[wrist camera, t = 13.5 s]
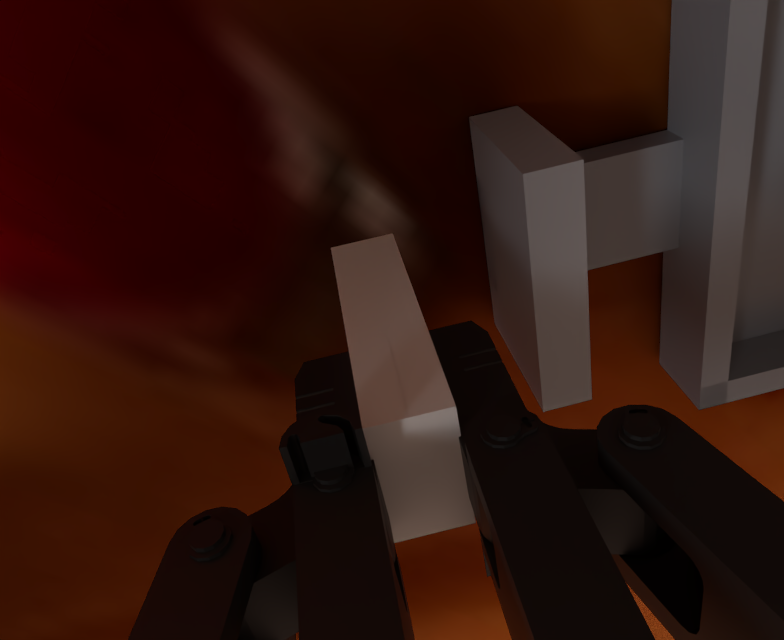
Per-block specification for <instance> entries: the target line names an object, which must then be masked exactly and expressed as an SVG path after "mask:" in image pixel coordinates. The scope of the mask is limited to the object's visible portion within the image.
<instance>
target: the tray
mask: <svg viewBox="0 0 784 640" xmlns="http://www.w3.org/2000/svg"><path fill="white" fill-rule="evenodd" d="M469 123H470V131H471V139H472V147H473V155H474V163H475V171H476V179H477V187H478V195H479V203H480V211H481V219H482V227H483V235H484V243H485V251H486V259H487V267H488V275H489V283H490V291H491V298H492V306H493V314H494V322H495V325H496V327H497V329H498V331H499V332H500V334H501V336H502V338H503V340H504V341H505V343H506V345H507V347H508V349H509V351H510V352H511V354H512V356H513V358H514V360H515V361H516V363H517V365H518V367H519V369H520V371H521V372H522V374H523V376H524V378H525V380H526V381H527V383H528V385H529V387H530V389H531V391H532V392H533V394H534V396H535V398H536V400H537V401H538V403H539V405H540V407H541V409H542V411H543V412H545V411H549V410H553V409H557V408H561V407H565V406H568V405H572V404H576V403H580V402H584V401H588V400H592V385H591V356H590V327H589V298H588V270H591V269H595V268H599V267H603V266H607V265H611V264H615V263H619V262H623V261H627V260H631V259H635V258H639V257H643V256H647V255H652V254H656V253H660V252H663V272H662V302H661V331H660V360H659V364H660V365H661V366H662V367H663V368H664V370H665V371H666V372H667V373H668V374H669V375H670V377H671V378H672V379H673V380H674V381H675V382H676V384H677V385H678V386H679V387H680V388H681V390H682V391H683V392H684V393H685V394H686V395H687V397H688V398H689V399H690V400H691V401H692V402H693V404H694V405H695V406H696V407H697V408H698V409H699V410H701V409H705V408H709V407H712V406H716V405H720V404H724V403H728V402H732V401H736V400H740V399H743V398H747V397H751V396H755V395H759V394H763V393H767V392H771V391H774V390H778V389H782V388H784V0H672V9H671V38H670V68H669V97H668V126H667V130H665V131H660V132H656V133H652V134H648V135H644V136H640V137H636V138H631V139H627V140H623V141H619V142H615V143H611V144H607V145H602V146H598V147H594V148H590V149H586V150H582V151H578V152H574V151H573V150H572V149H570V148H569V147H568V146H567V145H565V144H564V143H563V142H562V141H560V140H559V139H558V138H557V137H556V136H554V135H553V134H552V133H551V132H549V131H548V130H547V129H546V128H544V127H543V126H542V125H541V124H539V123H538V122H537V121H536V120H535V119H533V118H532V117H531V116H530V115H528V114H527V113H526V112H525V111H523V110H522V109H521V108H520V107H519V106H513V107H509V108H505V109H501V110H497V111H492V112H488V113H484V114H480V115H476V116H471V117H469Z"/></svg>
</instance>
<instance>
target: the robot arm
mask: <svg viewBox="0 0 784 640" xmlns="http://www.w3.org/2000/svg"><path fill="white" fill-rule="evenodd" d="M331 252H332V257H333V263H334V269H335V275H336V280H337V286H338V292H339V298H340V303H341V309H342V315H343V321H344V326H345V332H346V338H347V344H348V349H349V352H345V353H341V354H336V355H332V356H328V357H324V358H320V359H315V360H311V361H307V362H304V363H303V365H302V367H301V369H300V371H299V372H298V374H297V376H296V378H295V395H296V411H297V414H296V415H297V421H296V422H295V423H294V424H292V425H291V426H290V427H289V428H288V429H287V431H286V432H285V433H284V434H283V436H282V438H281V442H280V446H279V450H280V453H281V456H282V458H283V461H284V464H285V466H286V469H287V472H288V475H289V477H290V480H291V483H292V485H291V487H290V488H289V489H288V491H287V492H286V493H285V494H284V495H282V496H281V497H280V498H279V499H278V500H276V501H275V502H273V503H272V504H270V505H268V506H267V507H265V508H263V509H261V510H259V511H257V512H255V513H253V514H251V515H250V516H247V515H246V514H245V513H243V512H241V511H240V510H238V509H236V508H228V507H219V508H214V509H210V510H206V511H204V512H202V513H200V514H198V515H196V516H194V517H192V518H190V519H189V520H188V521H187V522H186V523H185V524H184V525H182V526H181V527H180V528H179V529H178V530H177V532H176V533H175V535H174V536H173V538H172V539H171V541H170V543H169V545H168V547H167V549H166V552H165V554H164V557H163V559H162V561H161V564H160V566H159V568H158V571H157V573H156V575H155V578H154V580H153V582H152V585H151V587H150V589H149V592H148V594H147V596H146V599H145V601H144V603H143V606H142V608H141V611H140V613H139V615H138V618H137V620H136V622H135V625H134V627H133V629H132V632H131V634H130V636H129V639H128V640H296V633H297V632H299V640H415V638H414V633H413V628H412V623H411V618H410V613H409V608H408V603H407V598H406V593H405V588H404V583H403V578H402V573H401V568H400V565H399V561H398V557H397V554H396V550H395V545H394V543H397V542H401V541H405V540H409V539H413V538H417V537H421V536H425V535H429V534H433V533H437V532H441V531H445V530H449V529H453V528H457V527H461V526H465V525H469V524H473V523H476V521H475V517H476V520H477V523H478V526H479V530H480V536H481V542H482V548H483V554H484V560H485V566H486V572H487V576H492V579H493V582H494V585H495V589H496V592H497V595H498V598H499V601H500V604H501V607H502V610H503V613H504V616H505V619H506V623H507V626H508V629H509V632H510V635H511V638H512V640H655V638H654V636H653V634H652V633H651V631H650V629H649V627H648V625H647V623H646V621H645V619H644V617H643V615H642V613H641V611H640V609H639V607H638V605H637V603H636V602H635V600H634V598H633V596H632V594H631V592H630V590H629V588H628V586H627V584H628V585H629V586H630V587H631V589H632V590H633V591H634V592H635V593H636V594H637V596H638V597H639V598H640V599H641V600H642V601H643V603H644V604H645V605H646V606H647V607H648V608H649V609H650V611H651V612H652V613H653V614H654V615H655V616H656V618H657V619H658V620H659V621H660V622H661V623H662V625H663V626H664V627H665V628H666V629H667V630H668V632H669V633H670V634H671V635H672V636H673V637H674V639H675V640H784V502H783V501H782V500H781V499H780V498H778V497H777V496H776V495H775V494H773V493H772V492H771V491H770V490H768V489H767V488H766V487H764V486H763V485H762V484H761V483H759V482H758V481H757V480H756V479H754V478H753V477H752V476H751V475H749V474H748V473H747V472H746V471H744V470H743V469H742V468H741V467H739V466H738V465H737V464H735V463H734V462H733V461H732V460H730V459H729V458H728V457H727V456H725V455H724V454H723V453H722V452H720V451H719V450H718V449H717V448H715V447H714V446H713V445H711V444H710V443H709V442H708V441H706V440H705V439H704V438H703V437H701V436H700V435H699V434H698V433H696V432H695V431H694V430H693V429H691V428H690V427H689V426H687V425H686V424H685V423H684V422H682V421H681V420H680V419H679V418H677V417H676V416H674V415H672V414H671V413H669V412H667V411H665V410H664V409H661V408H657V407H653V406H649V405H627V406H623V407H620V408H616V409H613V410H612V411H610V412H609V413H608V414H606V415H605V416H603V417H602V419H601V421H600V423H599V424H598V426H597V429H562V428H557V427H553V426H549V425H547V424H545V423H543V422H542V421H541V420H540V419H539V418H538V417H537V416H536V415H535V414H533V413H531V412H529V411H528V410H527V409H526V407H525V405H524V403H523V401H522V399H521V397H520V395H519V394H518V392H517V390H516V388H515V386H514V384H513V382H512V380H511V378H510V376H509V374H508V372H507V370H506V368H505V366H504V364H503V363H502V360H501V358H500V356H499V354H498V352H497V350H496V349H495V346H494V344H493V342H492V340H491V338H490V336H489V334H488V332H487V331H486V330H484V329H483V328H481V327H480V326H478V325H477V324H475V323H474V322H472V321H468V322H463V323H459V324H455V325H451V326H447V327H442V328H438V329H434V330H430V331H428V328H427V326H426V323H425V320H424V318H423V315H422V312H421V309H420V307H419V304H418V301H417V298H416V296H415V293H414V290H413V288H412V285H411V282H410V279H409V277H408V274H407V271H406V268H405V266H404V263H403V260H402V257H401V255H400V252H399V249H398V247H397V244H396V241H395V238H394V236H393V233H392V234H387V235H383V236H379V237H375V238H370V239H366V240H362V241H357V242H353V243H349V244H345V245H340V246H336V247H332V248H331ZM474 514H475V515H474ZM626 583H627V584H626Z"/></svg>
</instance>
